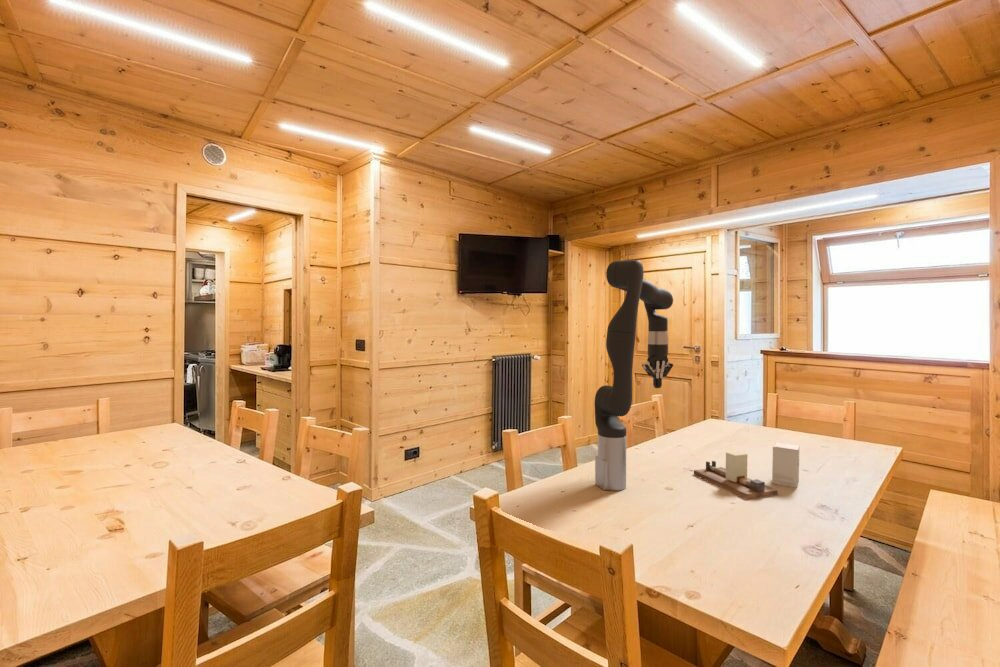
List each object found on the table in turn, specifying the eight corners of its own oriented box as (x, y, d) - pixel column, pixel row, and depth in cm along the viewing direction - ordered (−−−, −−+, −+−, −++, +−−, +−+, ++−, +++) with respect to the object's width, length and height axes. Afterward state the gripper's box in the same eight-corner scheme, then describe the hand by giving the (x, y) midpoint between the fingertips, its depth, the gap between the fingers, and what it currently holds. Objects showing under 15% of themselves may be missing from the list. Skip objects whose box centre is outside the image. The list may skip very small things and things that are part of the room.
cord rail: (746, 499, 143) (747, 484, 143) (693, 474, 166) (693, 461, 166) (777, 494, 146) (777, 480, 146) (721, 471, 169) (721, 459, 169)
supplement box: (797, 488, 152) (798, 450, 152) (771, 483, 156) (772, 446, 156) (799, 482, 158) (800, 445, 157) (774, 477, 162) (774, 441, 162)
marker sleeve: (734, 482, 152) (735, 455, 152) (725, 478, 156) (725, 452, 156) (747, 480, 153) (747, 454, 153) (737, 476, 157) (738, 451, 157)
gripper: (648, 343, 173) (648, 390, 174) (678, 343, 177) (678, 388, 177) (637, 342, 180) (637, 387, 181) (666, 342, 184) (666, 385, 185)
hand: (657, 387), depth 179 cm, fingers closed
